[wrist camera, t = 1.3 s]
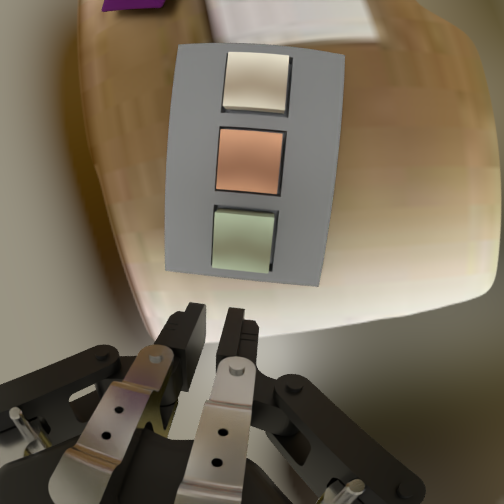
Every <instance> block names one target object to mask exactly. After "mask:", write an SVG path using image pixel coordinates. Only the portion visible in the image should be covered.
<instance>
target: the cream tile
mask: <svg viewBox="0 0 504 504" xmlns="http://www.w3.org/2000/svg"><path fill="white" fill-rule="evenodd" d="M288 64H289V55H279V54H267V53H251V52H228V60H227V69H226V78H225V88H224V98H223V107H224V108H225V109H227V110H246V111H260V112H272V113H282V114H284V111H285V101H286V89H287V77H288Z"/></svg>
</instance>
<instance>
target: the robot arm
mask: <svg viewBox="0 0 504 504" xmlns="http://www.w3.org/2000/svg"><path fill="white" fill-rule="evenodd" d="M244 314H245V309H241V308H232V307H229V309H228V313H227V316H226V320H225V324H224V327H223V331H222V335H221V339H220V342H219V346H218V350H217V353H216V376H215V380H214V384H213V387H212V391H211V395H210V399H209V400H206V402H205V404H204V407H203V411H202V415H201V418H200V422H199V425H198V429H197V432H196V436H195V439H194V440H171V439H168V434H169V431H170V428H171V425H172V421H173V418H174V415H175V412H176V409H177V406H178V396H179V394H180V391H185V392H188V391H189V388H190V385H191V382H192V379H193V376H194V373H195V369H196V367H197V364H198V361H199V358H200V355H201V352H202V349H203V346H204V343H205V337H206V305H205V304H199V303H192V302H190V303H189V305H188V306H187V308H186V310H185V312H181V311H177V312H175V313H174V314H172V315H171V316H170V317H169V319H168V321H167V322H166V324H165V326H164V327H163V329H162V331H161V333H160V334H159V336H158V338H157V339H156V341H155V343H154V345H149V346H146V347H144V348H143V349H142V350H141V351H140V352H139V354H138V356H119V352H118V351H117V349H116V348H115V347H113V346H110V345H97V346H95V347H92V348H90V349H87V350H85V351H83V352H80V353H78V354H75V355H73V356H71V357H68V358H66V359H63V360H61V361H58V362H56V363H54V364H51V365H49V366H47V367H44V368H42V369H39V370H36V371H34V372H32V373H29V374H26V375H24V376H21V377H19V378H16V379H14V380H12V381H9V382H6V383H3V384H1V385H0V467H1V468H0V504H293V503H292V502H291V501H290V500H289V499H288V498H287V497H286V496H285V495H284V494H283V492H282V491H281V490H280V489H279V488H278V487H277V486H276V485H275V484H274V482H273V481H272V480H271V479H270V478H269V477H268V475H267V474H266V473H265V472H264V471H263V470H262V469H261V468H260V467H259V466H258V465H257V464H256V463H254V462H253V461H251V460H250V459H248V458H246V456H247V448H248V440H249V431H250V426H253V427H256V428H259V429H261V430H264V431H266V435H267V437H268V438H269V439H270V441H271V442H272V443H273V444H274V446H275V447H276V448H277V449H278V451H279V452H280V453H281V454H282V456H283V457H284V458H285V459H286V460H287V462H288V463H289V464H290V465H291V466H292V468H293V469H294V470H295V471H296V472H297V473H298V475H299V476H300V477H301V478H302V479H303V480H304V481H305V483H306V484H307V485H308V486H309V487H310V488H311V489H312V490H313V492H314V493H315V494H316V495H317V496H318V497H319V500H318V501H317V503H316V504H420V503H421V502H422V501H423V499H424V497H425V493H426V489H425V485H424V483H423V481H422V480H421V479H420V478H419V477H418V476H417V475H415V474H414V473H413V472H412V471H411V470H409V469H408V468H407V467H406V466H404V465H403V464H402V463H401V462H400V461H398V460H397V459H396V458H395V457H394V456H392V455H391V454H390V453H389V452H388V451H386V450H385V449H384V448H383V447H382V446H381V445H380V444H378V443H377V442H376V441H375V440H374V439H373V438H371V437H370V436H369V435H368V434H367V433H366V432H365V431H364V430H362V429H361V428H360V427H359V426H358V425H357V424H356V423H355V422H354V421H352V420H351V419H350V418H349V417H348V416H347V415H346V414H345V413H344V412H342V411H341V410H340V409H339V408H338V407H337V406H335V404H334V403H333V402H332V401H330V400H329V399H328V398H327V397H326V396H325V395H324V394H323V393H322V392H321V391H320V390H319V389H318V388H317V387H316V386H315V385H313V384H312V383H311V382H310V381H309V380H308V379H307V378H305V377H303V376H300V375H296V374H287V375H283V376H281V377H279V378H278V379H277V380H276V379H273V378H270V377H267V376H265V375H264V374H262V373H261V372H260V371H259V370H258V368H257V366H256V358H257V345H258V334H259V326H258V325H257V323H256V322H255V321H253V320H244ZM93 384H95V387H96V390H95V391H93V392H91V393H89V394H87V395H85V396H82V397H80V398H78V399H76V400H74V401H72V402H69V398H70V396H71V395H72V394H74V393H76V392H77V391H80V390H82V389H84V388H86V387H88V386H90V385H93Z"/></svg>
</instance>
